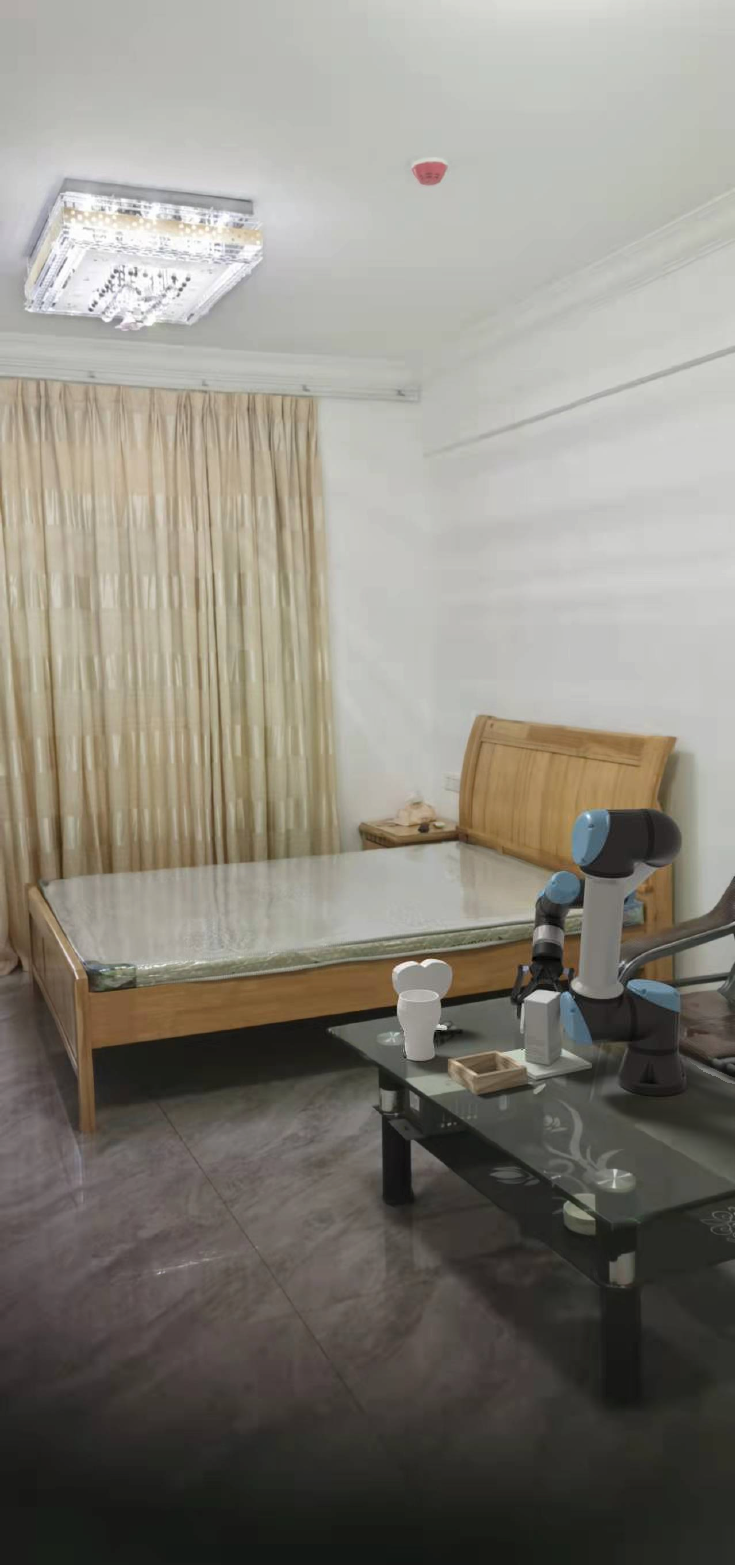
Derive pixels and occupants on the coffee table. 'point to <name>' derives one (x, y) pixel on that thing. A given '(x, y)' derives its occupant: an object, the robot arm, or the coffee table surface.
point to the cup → (419, 1022)
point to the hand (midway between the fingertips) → (541, 1032)
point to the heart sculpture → (423, 978)
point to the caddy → (504, 1078)
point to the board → (557, 1067)
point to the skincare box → (542, 1027)
